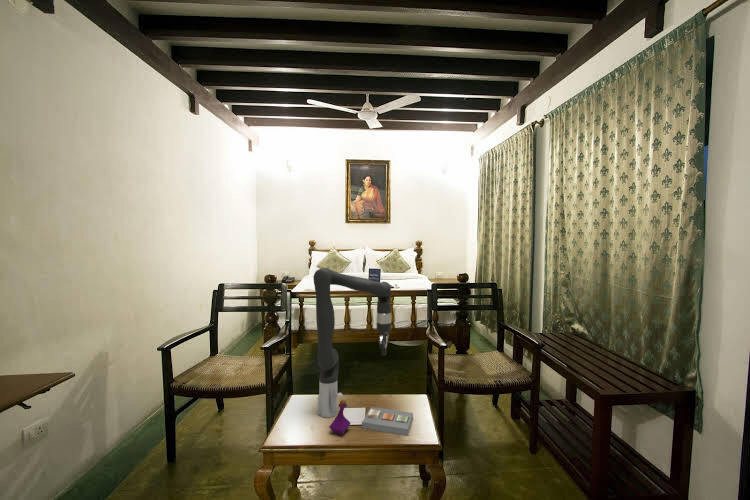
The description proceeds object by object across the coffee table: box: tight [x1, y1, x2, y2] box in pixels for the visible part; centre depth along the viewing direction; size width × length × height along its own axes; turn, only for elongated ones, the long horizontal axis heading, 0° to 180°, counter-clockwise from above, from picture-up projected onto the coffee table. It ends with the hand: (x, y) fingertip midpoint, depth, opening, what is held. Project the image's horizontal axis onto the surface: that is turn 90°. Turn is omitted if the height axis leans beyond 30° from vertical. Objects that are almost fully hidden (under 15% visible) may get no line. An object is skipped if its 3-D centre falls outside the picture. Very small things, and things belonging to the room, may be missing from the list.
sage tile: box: [396, 415, 408, 423], centre depth 160 cm, size 5×5×2 cm
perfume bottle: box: [328, 392, 352, 436], centre depth 154 cm, size 8×8×18 cm
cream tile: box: [367, 409, 381, 419], centre depth 163 cm, size 5×5×2 cm
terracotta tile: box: [382, 413, 394, 421], centre depth 161 cm, size 5×5×2 cm
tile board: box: [361, 406, 414, 437], centre depth 161 cm, size 22×15×3 cm
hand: (383, 355), depth 169 cm, fingers closed
